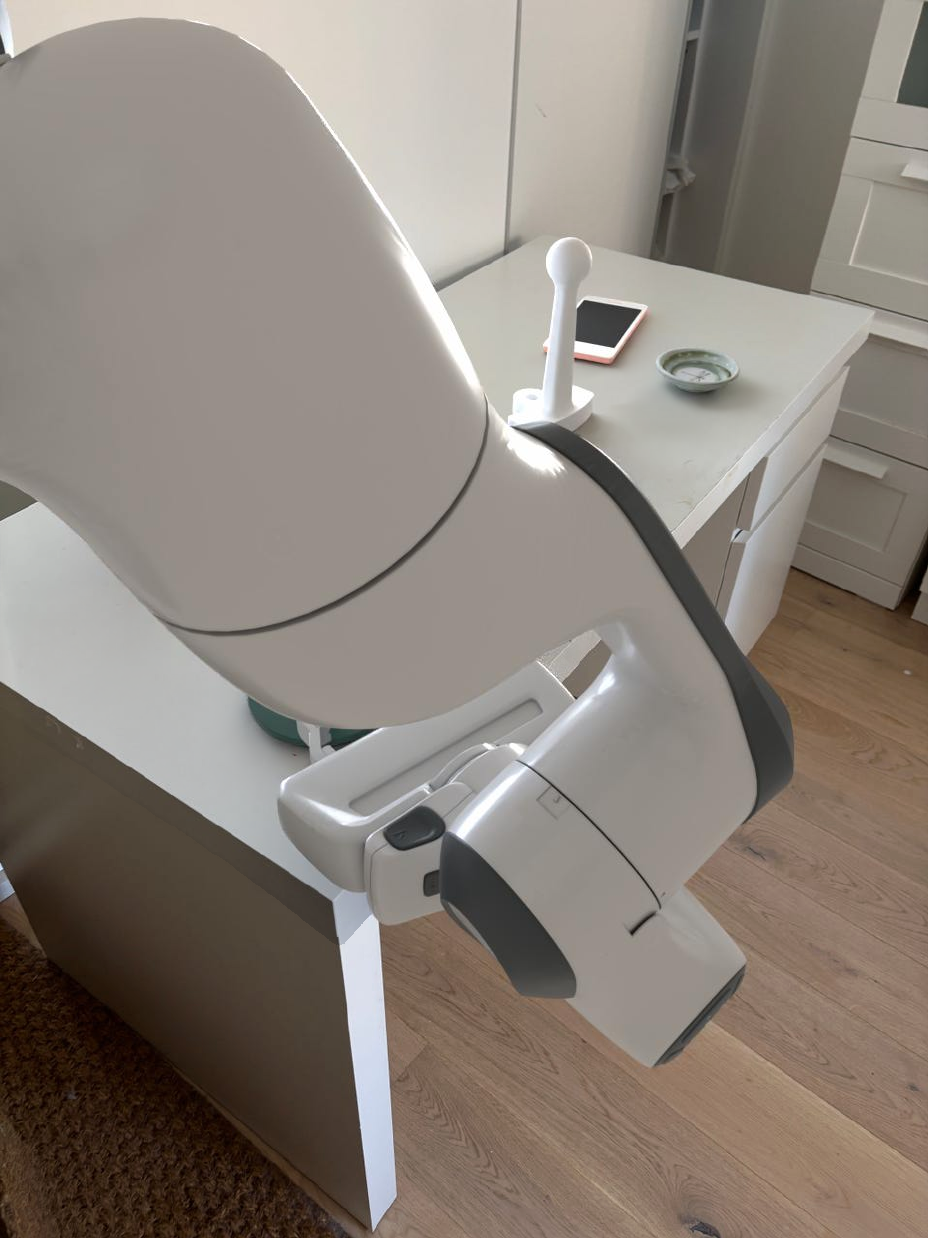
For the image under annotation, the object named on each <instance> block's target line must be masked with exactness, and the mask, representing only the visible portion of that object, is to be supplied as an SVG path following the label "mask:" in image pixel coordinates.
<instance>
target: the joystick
mask: <svg viewBox="0 0 928 1238" xmlns="http://www.w3.org/2000/svg"><path fill="white" fill-rule="evenodd" d="M545 261H546V262H545V266H546V271H547V273H548V276H549V277H550V278H551V279H552V282H553V284H554V297H553V306H552V311H551V312H552V314H551V321H550V328H549V337H548V338H549V343H548V351H547V352H546V360H545V366H544V367H545V368H544V375H543V383H542V390H541V389H537V388H523V389H520V390H517V391H516V392H515V393H514V394H513V399H512V414H510V415H508V417H507V424H508V425H509V426H512V425H517V424H523V423H528V422H533V421H539V420H546V421H550V422H553V423H555V424H558V425H560V426H562V427H564V428H566V429H568V430H570V431H572V432H573V433H574V432H575V431H576V430H578V429H579V428H580V427H581V426H582V425H584V424H585V423H586V422H587V421H588V420H589V418H590V417H591V416H592V414H593V407H594V400H595V399H594V397H595V394H594V393H595V392H592V391H590V390H588V389H585V388H582V387H580V386H577V385H575V384H574V370H575V357H574V352H575V333H576V314H577V304H578V294H579V287H580V285H581V284H582V282H583V281H585V279H586V278H587V277H588V276H589V274H590V272H591V270H592V266H593V255H592V252H591V249H590V247H589V246H588V244H586V243H585V242H584V241H583V240H582V239H580V238H577V237H571V236H570V237H563V238H560V239H559V240H557V241H555V242H554V243H553V244H552V245H551V246H550V248H549V250H548V252H547V254H546V259H545Z"/></svg>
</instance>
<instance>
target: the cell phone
mask: <svg viewBox="0 0 928 1238" xmlns="http://www.w3.org/2000/svg"><path fill="white" fill-rule="evenodd" d="M648 309H649V306H648V305H647V304H643V303H636V302H632V301H631V302H630V301H625V300H619V299H615V298H614V299H613V298H607V297H602V296H596V295H589V294H586V295H584V296H583V297H582V298H581V299H580V301H578V302H577V314H576V333H575V352H574V359H575V358H576V359H580V360H586V361H591V362H596V363H601V364H608V365H609V364H612V363H613V362H614V361H615V359H616V357H617V356H618V354H619V353H620V351H621V350H622V348H623V347H624V346H625V344H626V343H627V341H628V340H629V338H630V337H631V336H632V334H633V332H634V331H635V330H636V328H638V326H639V324H640V323H641V321H642V320H643V318H644V317H645V315H646V314H647V313H648ZM548 343H549V337H548V338H547V339H546V340H545V342H544V343H543V345H542V350H543V351H544V352H546V353H547V351H548Z"/></svg>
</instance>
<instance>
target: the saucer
mask: <svg viewBox="0 0 928 1238" xmlns="http://www.w3.org/2000/svg"><path fill="white" fill-rule="evenodd" d="M655 367H656V370H657V371H658V373H660V374H661V375H662V376H663V378H665V380H667V381H668V382H669V383H671V384H673V385H674V386H676V387H677V388H679V389H680V390H682V391H685V392H690V393H707V392H710V391H714V390H717V389H720V388H723V387H725V386H727V385H728V384H731V383H732V382H734V381H736V379H738V377H739V376H740V373H741V367H740V364H739V363H738V362H737V361H736V360H735V359H734V358H733V357H732V356H730V355H728V354H725V353H723V352H720V351H718V350H714V349H710V348H705V347H694V346H693V347H692V346H691V347H690V346H689V347H687V346H686V347H677V348H673V349H669V350H667V351H666V350H665V351H664V352H662V353H661V354H659V355H658V357H657V358H656V360H655Z"/></svg>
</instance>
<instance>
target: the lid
mask: <svg viewBox="0 0 928 1238" xmlns="http://www.w3.org/2000/svg"><path fill="white" fill-rule="evenodd" d="M246 701H247V707H248V710H249V712H250V715H251V716H252V718H253V720H254V721H255V722H256V724H257V725H258V726H259V727H260V728H261V729H262V730H263V731H265V732H266V733H267V734H269V735H270V736H271V737H274V738H275V739H278V740H280V741H283V742H285V743H289V744H293V745H296V746H304V747H309V746H308V745H307V744H306V743H305V742H304V741H303V740H302V739H301V737H300V735H299V733H298V730H297V721H296V720H293V719H290V718H287V717H285V716H283V715H280V714H278V713H276V712H274V711H272V710H270V709H268V708H266V707H264V706H263V705H261V704H260V703H258V702H256V701H255V700H253V699H252V698H250V697H249V696H247V695H246ZM375 730H377V728H375V729H338V728H330V731H329V732H330V734H331V741H330V742H328V743H326V744H325V745H323V746H322V747H325V746H327V745H330V746H331V747H332V746H337V745H342V744H346V743H349V742H352V741H356V740H358V739H361V738H362V737H364V736H366V735H368V734H370V733H372V732H374V731H375Z"/></svg>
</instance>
